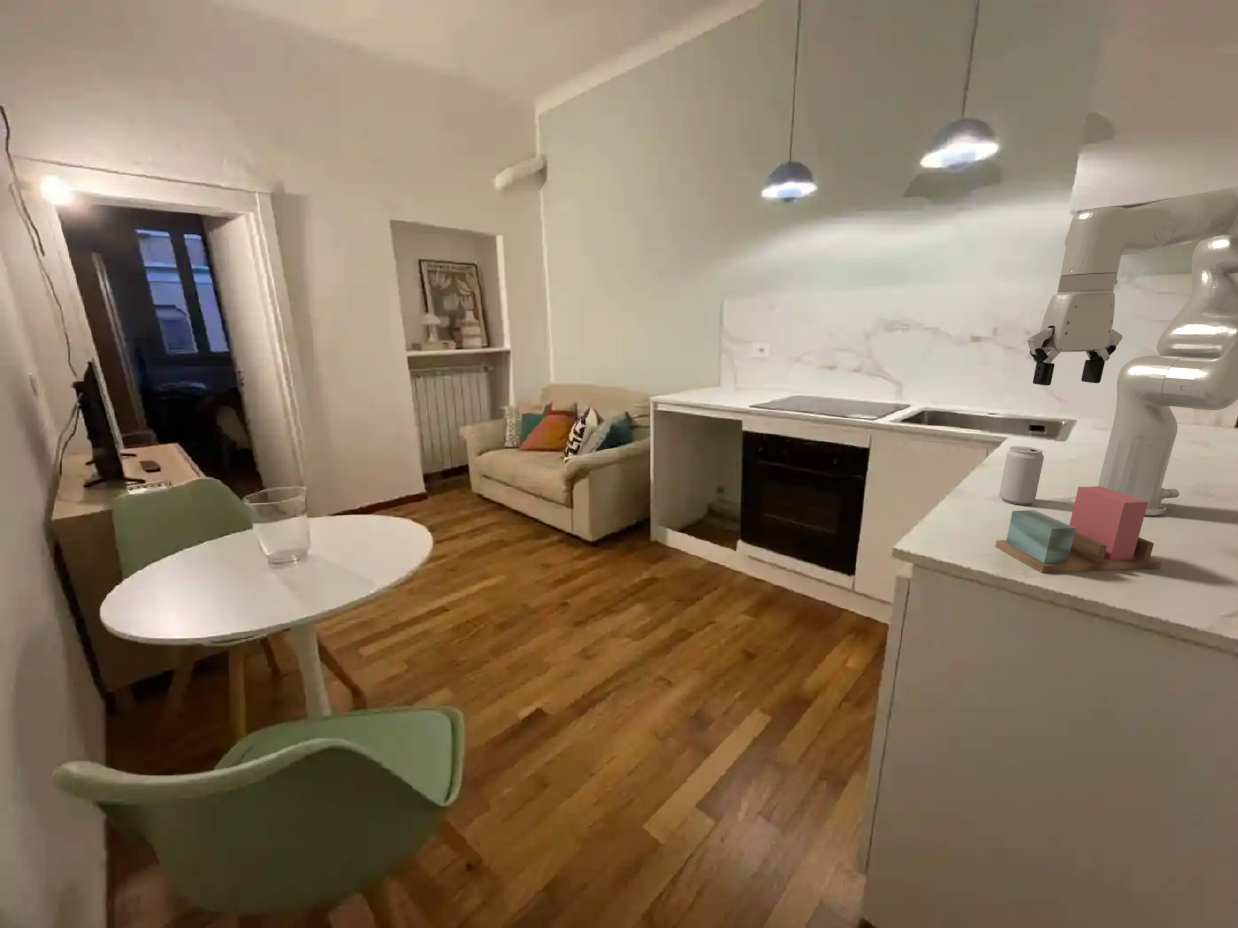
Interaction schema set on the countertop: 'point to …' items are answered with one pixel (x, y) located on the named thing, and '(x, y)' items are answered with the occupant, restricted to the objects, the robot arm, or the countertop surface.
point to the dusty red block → (1109, 519)
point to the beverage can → (1021, 475)
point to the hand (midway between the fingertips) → (1065, 383)
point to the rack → (1064, 546)
